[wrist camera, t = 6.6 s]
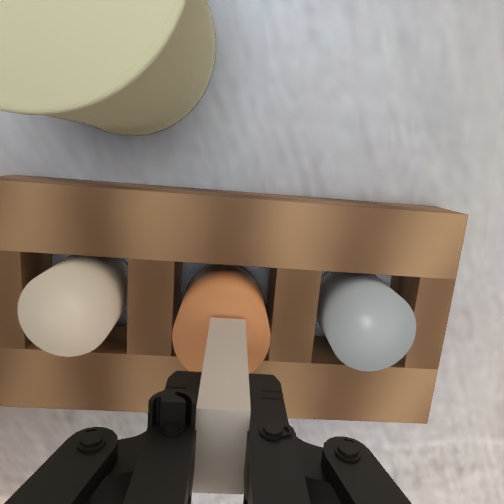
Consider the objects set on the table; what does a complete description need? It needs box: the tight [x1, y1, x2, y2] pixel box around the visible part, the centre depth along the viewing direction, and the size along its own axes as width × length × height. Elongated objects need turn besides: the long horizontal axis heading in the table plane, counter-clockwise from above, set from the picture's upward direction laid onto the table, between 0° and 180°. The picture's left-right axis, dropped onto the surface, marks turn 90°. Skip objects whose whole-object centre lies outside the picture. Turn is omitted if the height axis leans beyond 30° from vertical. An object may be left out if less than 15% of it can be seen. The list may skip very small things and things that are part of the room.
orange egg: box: [172, 264, 271, 373], centre depth 21 cm, size 4×4×5 cm
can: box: [0, 0, 216, 135], centre depth 16 cm, size 9×9×12 cm
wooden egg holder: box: [0, 175, 468, 424], centre depth 23 cm, size 24×12×4 cm, turn 85°
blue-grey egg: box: [316, 271, 416, 371], centre depth 23 cm, size 4×4×5 cm
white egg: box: [18, 255, 128, 357], centre depth 22 cm, size 4×4×5 cm
